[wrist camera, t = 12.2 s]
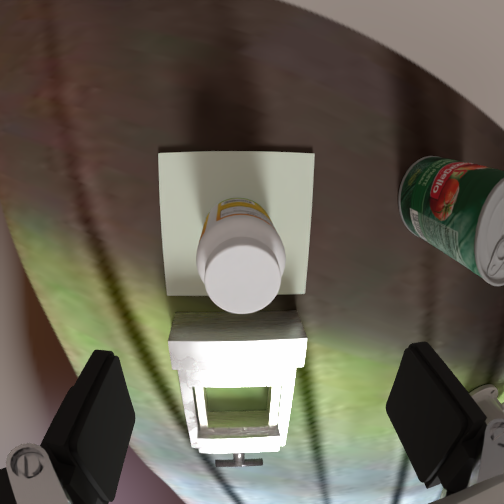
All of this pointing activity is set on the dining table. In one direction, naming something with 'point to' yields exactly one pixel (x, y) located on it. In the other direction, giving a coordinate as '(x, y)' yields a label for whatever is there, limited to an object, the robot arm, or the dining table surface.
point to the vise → (237, 377)
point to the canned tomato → (457, 212)
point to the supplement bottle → (240, 256)
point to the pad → (227, 186)
